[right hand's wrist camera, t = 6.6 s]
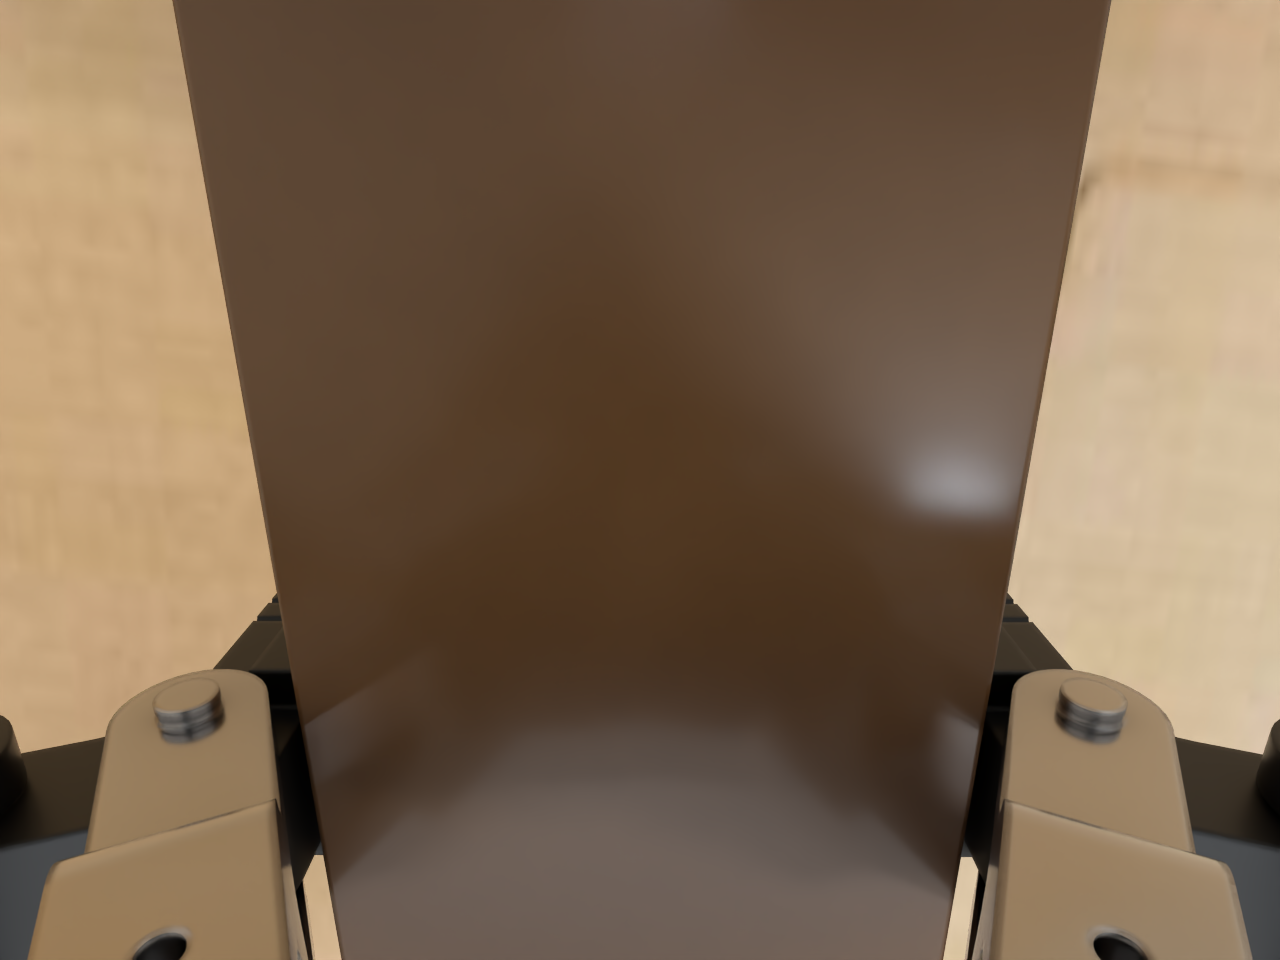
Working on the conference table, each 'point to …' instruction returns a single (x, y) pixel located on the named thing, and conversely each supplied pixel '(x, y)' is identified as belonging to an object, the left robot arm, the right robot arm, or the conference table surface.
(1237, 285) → the conference table surface
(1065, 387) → the conference table surface
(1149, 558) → the conference table surface
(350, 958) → the box
